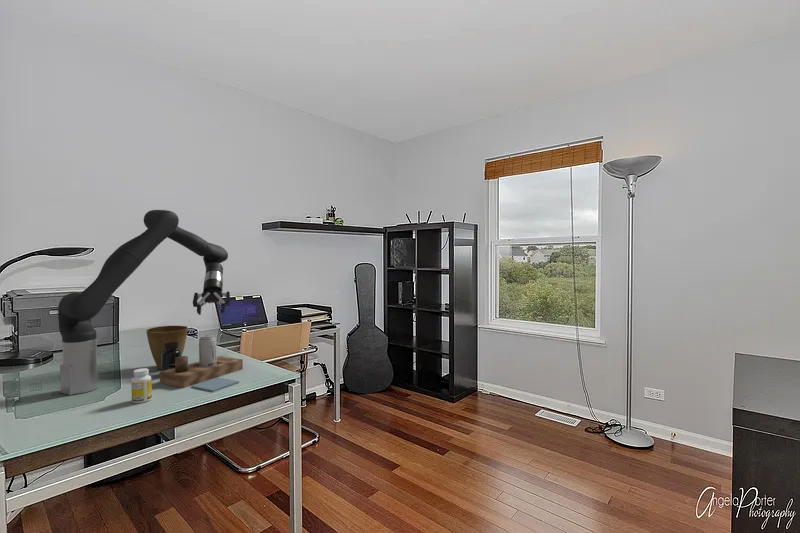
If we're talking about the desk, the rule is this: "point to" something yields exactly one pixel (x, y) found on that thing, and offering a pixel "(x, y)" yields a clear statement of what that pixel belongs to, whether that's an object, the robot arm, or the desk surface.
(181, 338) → the plant pot
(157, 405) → the desk surface
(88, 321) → the robot arm
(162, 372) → the body
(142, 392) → the supplement bottle
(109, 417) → the desk surface
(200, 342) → the energy drink can
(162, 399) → the desk surface
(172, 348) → the supplement bottle
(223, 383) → the rubber mat
